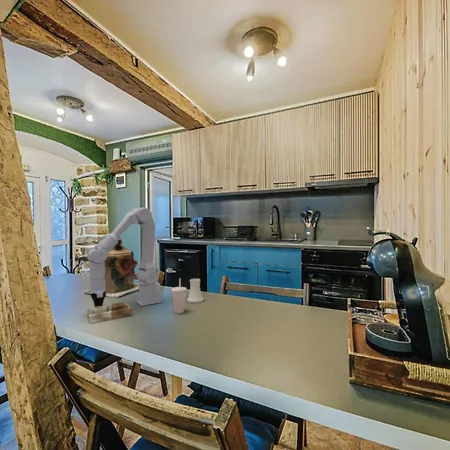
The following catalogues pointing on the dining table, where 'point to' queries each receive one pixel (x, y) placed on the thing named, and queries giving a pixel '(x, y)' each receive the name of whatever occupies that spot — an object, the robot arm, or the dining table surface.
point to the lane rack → (109, 314)
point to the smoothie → (179, 297)
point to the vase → (195, 292)
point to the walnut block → (118, 306)
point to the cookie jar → (119, 271)
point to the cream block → (99, 309)
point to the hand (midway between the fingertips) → (98, 310)
